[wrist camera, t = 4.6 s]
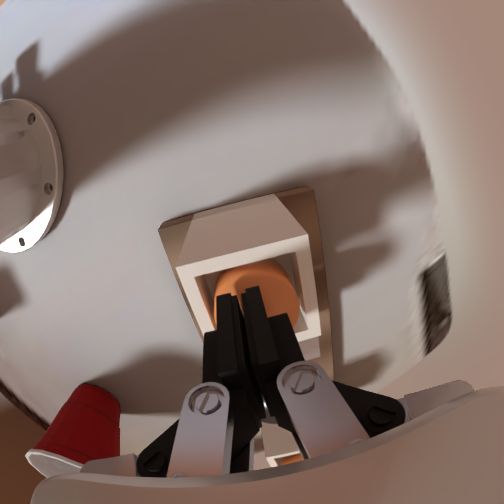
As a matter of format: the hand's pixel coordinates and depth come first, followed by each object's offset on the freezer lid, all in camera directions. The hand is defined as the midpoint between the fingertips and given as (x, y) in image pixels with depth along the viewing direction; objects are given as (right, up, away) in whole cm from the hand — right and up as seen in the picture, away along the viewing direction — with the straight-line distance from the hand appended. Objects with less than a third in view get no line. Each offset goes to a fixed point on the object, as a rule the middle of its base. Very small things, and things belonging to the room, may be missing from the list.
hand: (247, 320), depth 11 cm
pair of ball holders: (+2, -5, +12) cm, 13 cm away
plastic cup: (-18, -14, +15) cm, 27 cm away
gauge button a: (0, +1, +3) cm, 3 cm away
